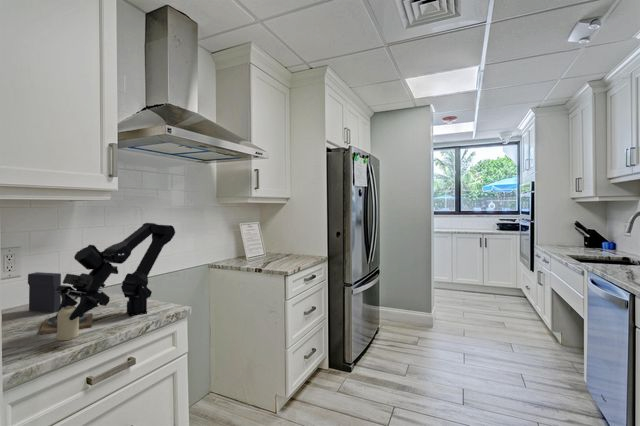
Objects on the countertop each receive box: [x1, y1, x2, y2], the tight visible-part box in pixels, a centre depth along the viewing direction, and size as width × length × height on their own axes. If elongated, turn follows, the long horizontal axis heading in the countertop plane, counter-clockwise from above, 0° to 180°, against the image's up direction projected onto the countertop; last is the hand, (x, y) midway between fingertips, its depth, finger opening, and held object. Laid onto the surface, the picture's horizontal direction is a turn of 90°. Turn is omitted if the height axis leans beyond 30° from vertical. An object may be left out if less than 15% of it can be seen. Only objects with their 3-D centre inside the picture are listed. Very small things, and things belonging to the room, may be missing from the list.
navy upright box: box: [27, 271, 62, 314], centre depth 131 cm, size 11×4×15 cm, turn 84°
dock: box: [38, 312, 94, 335], centre depth 117 cm, size 14×14×2 cm
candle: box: [56, 305, 80, 341], centre depth 106 cm, size 6×6×10 cm
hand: (63, 318), depth 105 cm, fingers closed on candle, 5 cm apart
